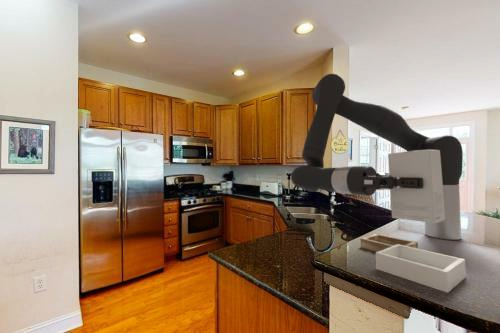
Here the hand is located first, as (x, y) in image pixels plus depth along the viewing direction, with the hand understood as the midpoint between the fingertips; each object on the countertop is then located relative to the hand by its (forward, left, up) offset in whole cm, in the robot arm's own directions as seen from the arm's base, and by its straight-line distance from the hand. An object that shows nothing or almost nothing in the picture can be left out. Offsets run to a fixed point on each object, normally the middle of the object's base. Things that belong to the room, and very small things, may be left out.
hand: (428, 182), depth 48 cm
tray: (0, -2, -19) cm, 19 cm away
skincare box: (0, -3, -8) cm, 9 cm away
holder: (-11, -13, -19) cm, 26 cm away
